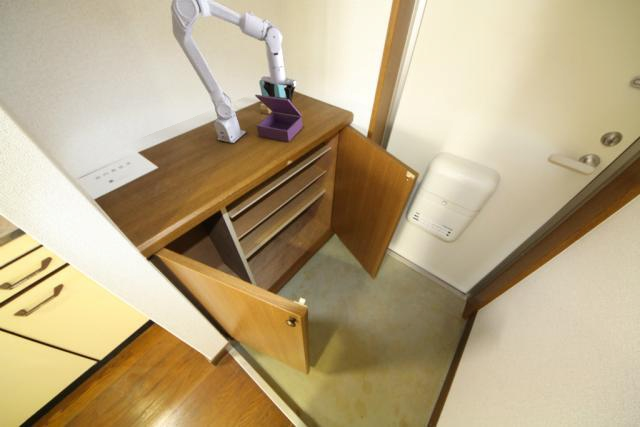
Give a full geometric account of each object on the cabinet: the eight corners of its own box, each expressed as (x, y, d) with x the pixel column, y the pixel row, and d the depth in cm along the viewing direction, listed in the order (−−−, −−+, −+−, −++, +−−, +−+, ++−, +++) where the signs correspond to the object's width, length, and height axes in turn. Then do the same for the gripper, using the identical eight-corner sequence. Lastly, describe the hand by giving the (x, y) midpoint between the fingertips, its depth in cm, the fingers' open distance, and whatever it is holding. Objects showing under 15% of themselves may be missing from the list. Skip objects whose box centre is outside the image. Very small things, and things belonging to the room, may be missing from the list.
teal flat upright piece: (287, 106, 114) (283, 80, 105) (281, 109, 111) (277, 83, 102) (269, 101, 118) (264, 76, 109) (263, 105, 116) (258, 79, 107)
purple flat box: (288, 142, 91) (287, 131, 87) (258, 136, 94) (256, 125, 91) (302, 127, 99) (301, 116, 95) (274, 122, 103) (272, 112, 99)
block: (268, 114, 108) (267, 105, 105) (261, 113, 109) (260, 104, 106) (273, 110, 111) (271, 102, 108) (266, 109, 112) (264, 101, 109)
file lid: (288, 100, 82) (290, 89, 81) (254, 95, 85) (257, 85, 85) (301, 116, 95) (303, 107, 95) (272, 111, 99) (274, 102, 98)
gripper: (298, 64, 83) (301, 102, 93) (265, 61, 87) (271, 97, 97) (289, 70, 79) (293, 108, 89) (255, 66, 83) (263, 103, 93)
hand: (281, 103), depth 93 cm, fingers open, 7 cm apart
